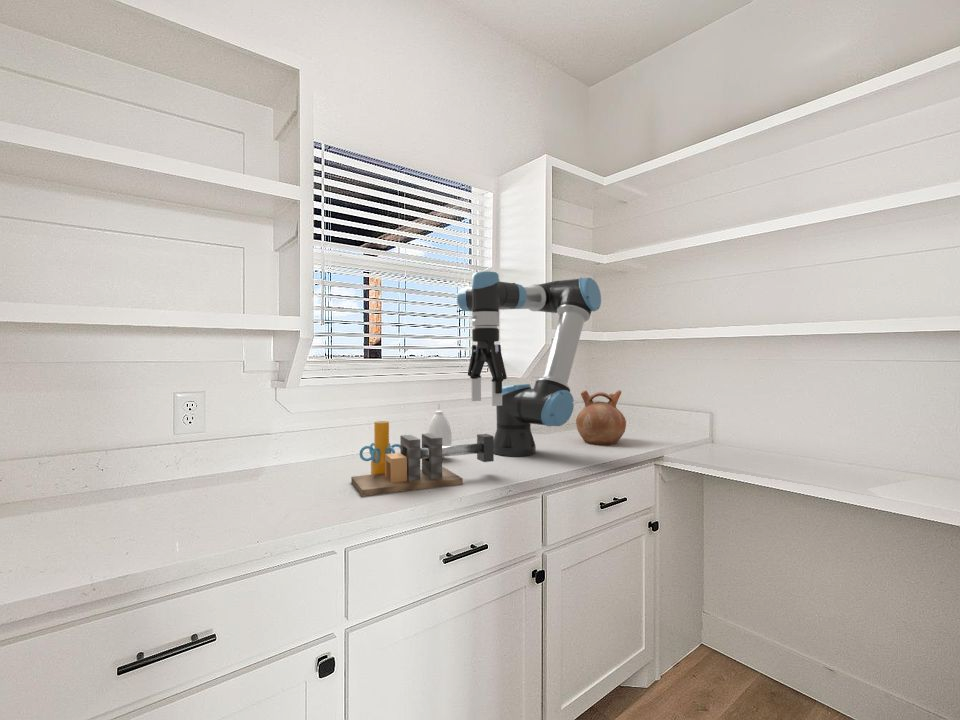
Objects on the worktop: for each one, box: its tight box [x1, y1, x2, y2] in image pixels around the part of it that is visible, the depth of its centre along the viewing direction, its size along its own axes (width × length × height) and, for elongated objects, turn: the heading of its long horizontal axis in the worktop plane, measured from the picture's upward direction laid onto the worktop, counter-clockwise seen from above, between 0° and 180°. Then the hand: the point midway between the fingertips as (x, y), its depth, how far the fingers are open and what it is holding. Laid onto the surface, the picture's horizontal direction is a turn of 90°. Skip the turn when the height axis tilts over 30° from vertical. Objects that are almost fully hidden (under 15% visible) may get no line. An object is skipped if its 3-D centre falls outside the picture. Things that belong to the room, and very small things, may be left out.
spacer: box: [385, 452, 407, 482], centre depth 131 cm, size 4×6×6 cm, turn 25°
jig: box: [350, 433, 464, 497], centre depth 132 cm, size 26×14×12 cm, turn 115°
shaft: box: [420, 433, 495, 463], centre depth 138 cm, size 22×4×7 cm, turn 115°
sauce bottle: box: [426, 403, 453, 459], centre depth 163 cm, size 8×8×18 cm
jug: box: [575, 390, 627, 446], centre depth 191 cm, size 18×18×20 cm
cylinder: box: [359, 420, 400, 475], centre depth 140 cm, size 12×10×15 cm
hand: (486, 403), depth 142 cm, fingers open, 13 cm apart
